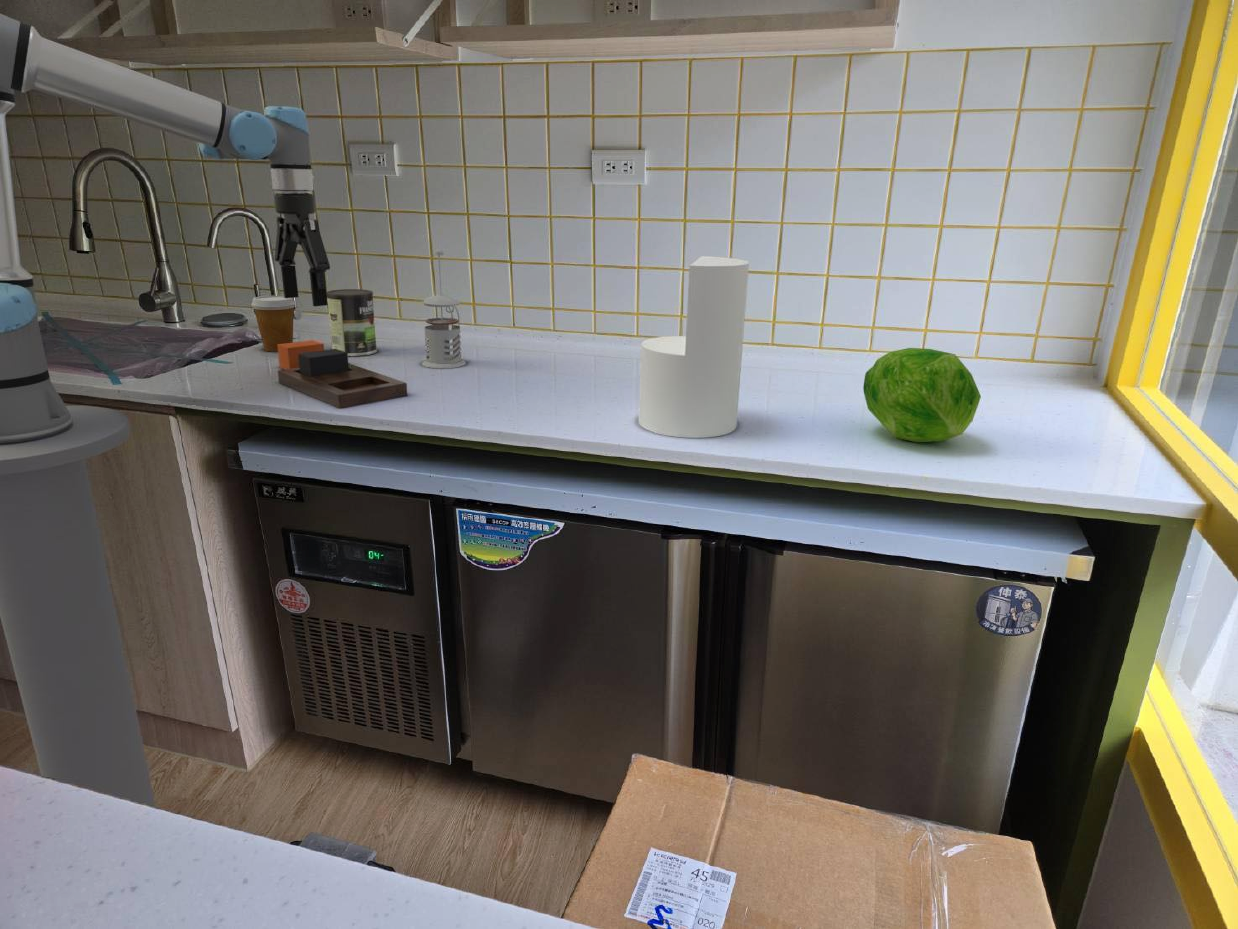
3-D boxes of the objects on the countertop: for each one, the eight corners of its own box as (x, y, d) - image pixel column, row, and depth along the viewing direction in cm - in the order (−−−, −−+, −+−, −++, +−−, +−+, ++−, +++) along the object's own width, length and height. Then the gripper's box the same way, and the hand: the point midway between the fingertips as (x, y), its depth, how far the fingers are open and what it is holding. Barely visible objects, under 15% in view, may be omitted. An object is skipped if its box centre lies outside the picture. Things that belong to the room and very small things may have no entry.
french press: (413, 366, 181) (406, 249, 173) (438, 356, 192) (432, 245, 183) (454, 369, 179) (449, 252, 170) (476, 359, 189) (473, 247, 181)
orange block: (290, 371, 174) (287, 348, 172) (279, 367, 177) (277, 344, 175) (325, 366, 179) (323, 343, 177) (315, 362, 182) (312, 339, 181)
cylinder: (739, 414, 151) (751, 258, 142) (732, 441, 135) (745, 268, 126) (647, 406, 154) (653, 253, 145) (629, 432, 138) (635, 263, 129)
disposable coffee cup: (300, 344, 200) (295, 294, 196) (299, 352, 192) (293, 300, 188) (258, 345, 197) (252, 295, 193) (255, 353, 189) (248, 301, 185)
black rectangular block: (312, 382, 161) (309, 357, 159) (300, 378, 164) (297, 353, 162) (349, 376, 166) (347, 352, 165) (337, 372, 170) (335, 348, 168)
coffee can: (384, 349, 197) (380, 289, 193) (364, 357, 188) (359, 295, 183) (344, 346, 199) (339, 287, 194) (323, 355, 189) (317, 293, 185)
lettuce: (1000, 439, 139) (968, 354, 145) (981, 405, 122) (944, 311, 128) (902, 473, 146) (874, 391, 152) (870, 445, 130) (841, 354, 136)
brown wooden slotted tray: (339, 408, 148) (338, 394, 147) (278, 382, 164) (277, 370, 164) (407, 395, 157) (406, 382, 157) (343, 372, 174) (342, 361, 173)
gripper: (341, 194, 155) (351, 307, 162) (286, 190, 172) (297, 293, 179) (302, 194, 150) (314, 311, 157) (249, 190, 167) (262, 295, 174)
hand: (305, 301), depth 168 cm, fingers open, 13 cm apart
